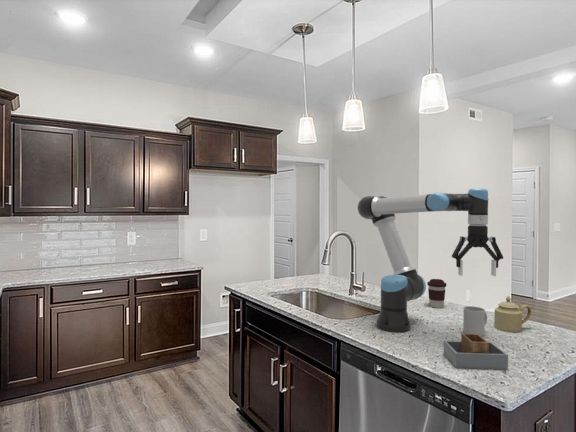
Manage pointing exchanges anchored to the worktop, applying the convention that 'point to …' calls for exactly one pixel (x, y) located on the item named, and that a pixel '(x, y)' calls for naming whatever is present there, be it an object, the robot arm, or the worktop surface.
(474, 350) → the walnut crate
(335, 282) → the worktop surface
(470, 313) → the mug
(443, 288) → the coffee cup
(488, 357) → the grey crate
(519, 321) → the beige teapot
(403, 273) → the robot arm
